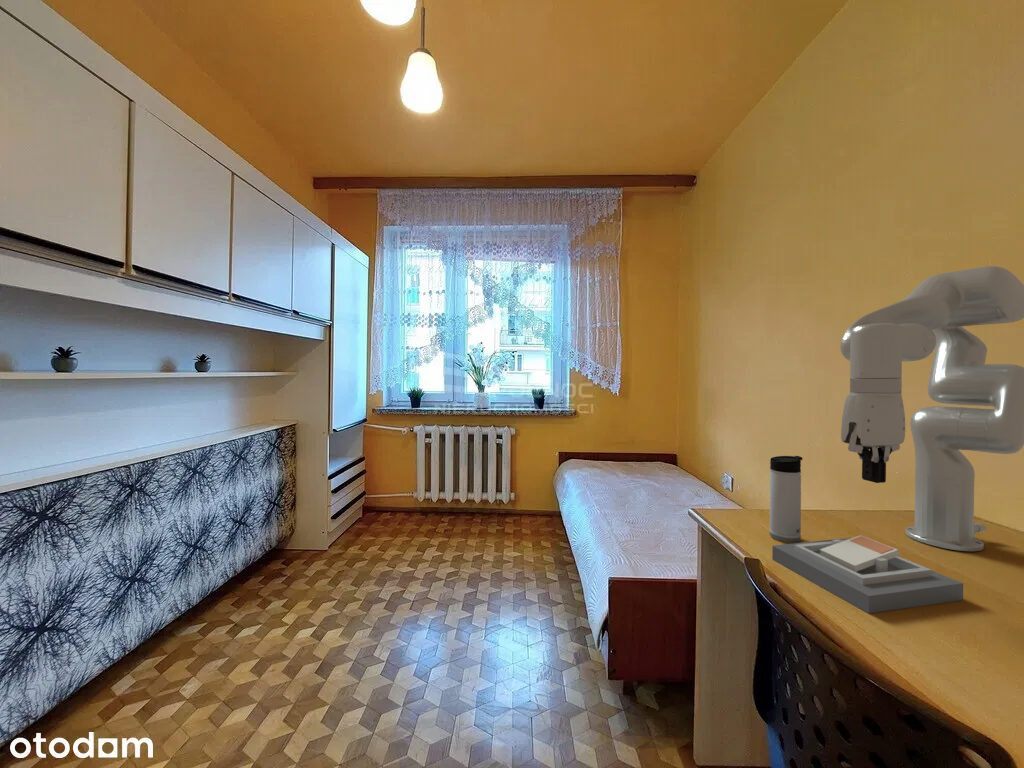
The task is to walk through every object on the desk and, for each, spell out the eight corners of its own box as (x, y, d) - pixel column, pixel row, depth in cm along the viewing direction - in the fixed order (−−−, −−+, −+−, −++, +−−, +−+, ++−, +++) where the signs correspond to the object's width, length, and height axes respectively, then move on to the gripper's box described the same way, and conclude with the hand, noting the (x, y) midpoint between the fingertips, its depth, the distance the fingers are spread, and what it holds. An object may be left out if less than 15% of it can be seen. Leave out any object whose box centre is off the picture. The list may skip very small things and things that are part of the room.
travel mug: (807, 544, 95) (808, 459, 94) (776, 542, 96) (776, 458, 96) (794, 533, 101) (795, 453, 100) (765, 531, 102) (765, 453, 102)
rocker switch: (861, 540, 84) (860, 534, 84) (899, 555, 77) (898, 549, 77) (820, 555, 82) (819, 548, 82) (855, 571, 75) (854, 565, 75)
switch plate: (850, 550, 91) (850, 526, 91) (963, 599, 71) (963, 568, 71) (772, 559, 88) (772, 533, 87) (868, 613, 68) (868, 580, 68)
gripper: (885, 386, 84) (884, 474, 84) (824, 387, 81) (823, 478, 82) (928, 387, 77) (927, 483, 77) (862, 389, 74) (861, 488, 74)
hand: (873, 480), depth 79 cm, fingers closed
